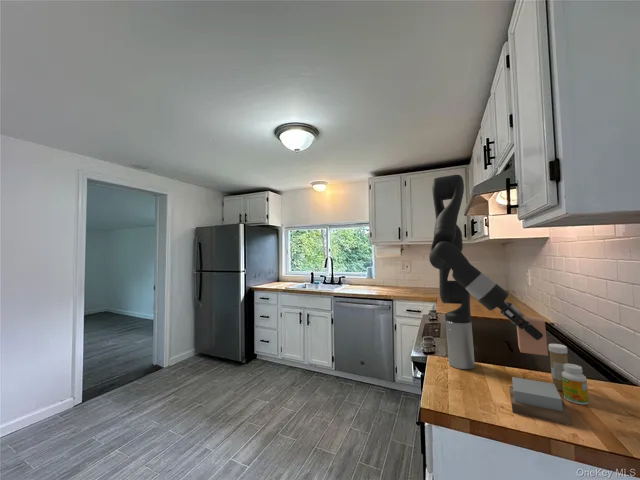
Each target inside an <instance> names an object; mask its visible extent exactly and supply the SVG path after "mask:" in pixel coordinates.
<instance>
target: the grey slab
mask: <svg viewBox="0 0 640 480" xmlns="http://www.w3.org/2000/svg"><path fill="white" fill-rule="evenodd" d="M511 378H512V386H513V391H514V398H515V402H518V403H523V404H528V405H533V406H538V407H543V408H548V409H553V410H558V411H562V412H563V409H562V400H563V398H562V396H561V394H560V393H559V392H558V391H559V390H558V389H556V386H555V384H553V382H552V383H551V382H545V381H539V380H532V379H526V378H521V377H514V376H512V377H511ZM560 396H561V397H560ZM561 398H562V399H561Z"/></svg>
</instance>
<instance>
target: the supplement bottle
mask: <svg viewBox="0 0 640 480" xmlns="http://www.w3.org/2000/svg"><path fill="white" fill-rule="evenodd" d="M564 370H565V371H563V372H562V383H563V391H562V392H563V398H564V399H565V400H566V401H568V402H570V403H573V404H577V405H584V406H585V405H588V404H590V399H589V390H588V382H587V377H586V376H585V375H584V374H583V373H584V371H583V367H582V366H581V365H579V364H578V365H577V364H574V363H568V364H564Z"/></svg>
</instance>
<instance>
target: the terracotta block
mask: <svg viewBox="0 0 640 480" xmlns="http://www.w3.org/2000/svg"><path fill="white" fill-rule="evenodd" d="M524 319H526V320H527V321H528V322H530V324H531V325H532V326H533V327H535V328H536V329H537V330H538V331H539V332H541V333H542V334H543V337H542V338H540V339H539V340H536V339H535V338H533V337H532V336H531V335H530V334H529V333H527V332H526V331H525V330H523V329H520V328H519V327H518V326H517V325H516V331H517V332H516V333H517V334H516V335H517V343H518V345H517V346H518V348H519V351H520V353H524V354H530V355H539V356H547V357H548V356H549V348H548V340H547V331H546V322H545V321H546V320H544V319H543V318H542V317H537V316H525V317H524ZM522 322H524V321H523V320H519V321H518V323H519V324H521V323H522Z"/></svg>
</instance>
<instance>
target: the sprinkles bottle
mask: <svg viewBox="0 0 640 480" xmlns="http://www.w3.org/2000/svg"><path fill="white" fill-rule="evenodd" d="M547 348H548V353H549V358H550V359H549V360H550V372H551V377H552V378H551V380H552V384H555V386H556V389H557V391H562V392H563V383H562V372H563V371H565V370H564V364H569V360H568V352H569V351H568V347H567V345H564V344H560V343H549V344H547Z"/></svg>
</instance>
